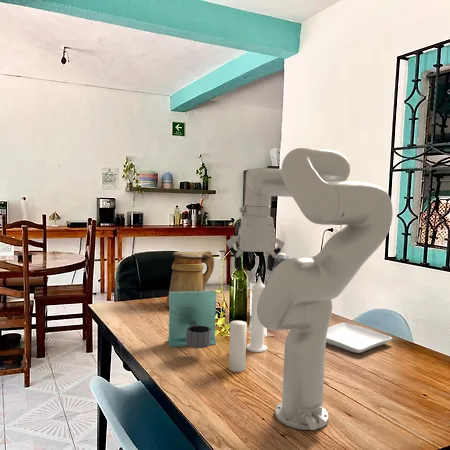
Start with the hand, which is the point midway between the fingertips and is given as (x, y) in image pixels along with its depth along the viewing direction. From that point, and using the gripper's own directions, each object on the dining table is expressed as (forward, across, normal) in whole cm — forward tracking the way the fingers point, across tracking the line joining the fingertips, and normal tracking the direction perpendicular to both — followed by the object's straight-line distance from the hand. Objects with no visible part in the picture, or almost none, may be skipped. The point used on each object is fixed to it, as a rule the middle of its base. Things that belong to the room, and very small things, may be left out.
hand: (254, 269), depth 129 cm
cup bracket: (+31, -14, +17) cm, 38 cm away
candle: (+31, +7, +16) cm, 36 cm away
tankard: (+34, -8, +74) cm, 82 cm away
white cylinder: (+31, -4, +1) cm, 31 cm away
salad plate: (+31, +43, +18) cm, 56 cm away
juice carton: (+33, +27, +55) cm, 70 cm away
